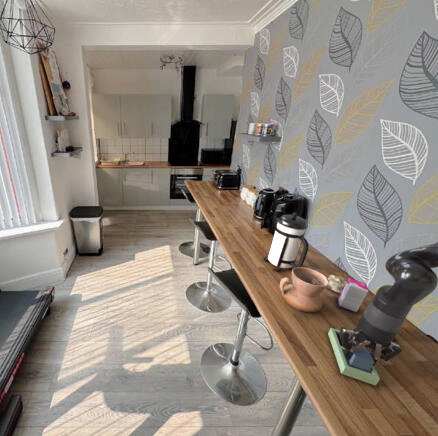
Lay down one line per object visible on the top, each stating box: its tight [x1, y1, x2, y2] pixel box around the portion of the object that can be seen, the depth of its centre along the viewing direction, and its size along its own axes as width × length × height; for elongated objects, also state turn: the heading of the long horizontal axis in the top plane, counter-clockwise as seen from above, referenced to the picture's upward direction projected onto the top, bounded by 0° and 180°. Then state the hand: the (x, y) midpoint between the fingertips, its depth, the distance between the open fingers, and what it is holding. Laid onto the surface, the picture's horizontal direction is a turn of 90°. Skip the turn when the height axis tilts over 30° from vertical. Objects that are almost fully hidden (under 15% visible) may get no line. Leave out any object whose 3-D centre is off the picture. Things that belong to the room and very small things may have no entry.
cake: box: [326, 274, 348, 294], centre depth 108 cm, size 10×10×5 cm
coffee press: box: [263, 211, 309, 272], centre depth 117 cm, size 17×16×30 cm
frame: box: [327, 327, 381, 386], centre depth 76 cm, size 8×16×3 cm, turn 157°
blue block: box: [349, 347, 376, 371], centre depth 72 cm, size 5×5×4 cm
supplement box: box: [337, 277, 369, 314], centre depth 96 cm, size 6×6×12 cm
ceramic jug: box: [279, 266, 332, 314], centre depth 96 cm, size 18×14×14 cm
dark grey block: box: [337, 330, 354, 346], centre depth 79 cm, size 5×5×4 cm
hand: (357, 360), depth 72 cm, fingers closed on blue block, 4 cm apart
